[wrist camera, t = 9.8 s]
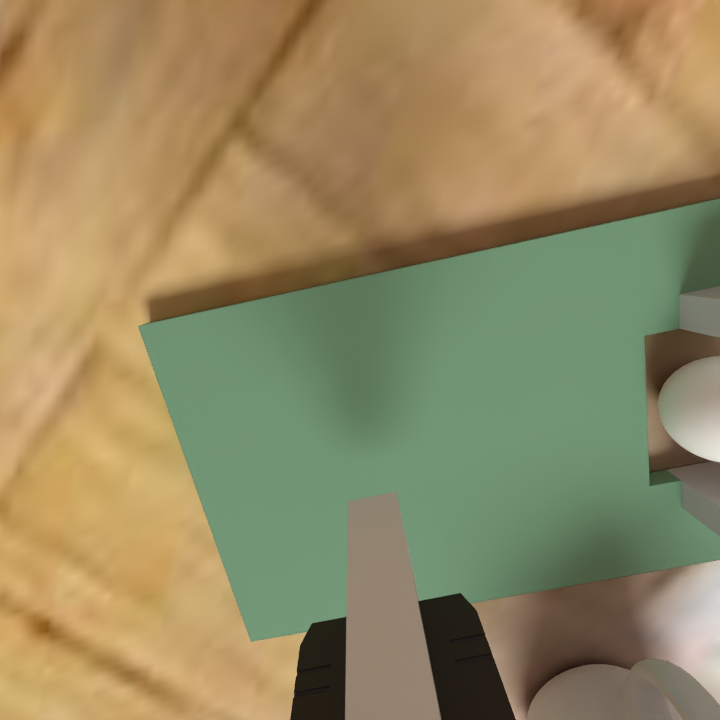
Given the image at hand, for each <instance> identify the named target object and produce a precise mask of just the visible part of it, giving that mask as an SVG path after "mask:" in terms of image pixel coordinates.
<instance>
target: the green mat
mask: <svg viewBox="0 0 720 720" xmlns="http://www.w3.org/2000/svg"><path fill="white" fill-rule="evenodd" d="M718 286H720V198H717V199H712V200H708V201H703V202H699V203H694V204H690V205H685V206H680V207H676V208H671V209H667V210H662V211H658V212H653V213H648V214H644V215H639V216H635V217H630V218H625V219H621V220H616V221H612V222H607V223H603V224H598V225H593V226H589V227H584V228H580V229H575V230H571V231H566V232H561V233H557V234H552V235H548V236H543V237H538V238H534V239H529V240H525V241H520V242H516V243H511V244H506V245H502V246H497V247H493V248H488V249H484V250H479V251H474V252H470V253H465V254H461V255H456V256H452V257H447V258H442V259H438V260H433V261H429V262H424V263H419V264H415V265H410V266H406V267H401V268H397V269H392V270H387V271H383V272H378V273H374V274H369V275H365V276H360V277H355V278H351V279H346V280H342V281H337V282H333V283H328V284H323V285H319V286H314V287H310V288H305V289H300V290H296V291H291V292H287V293H282V294H278V295H273V296H268V297H264V298H259V299H255V300H250V301H246V302H241V303H236V304H232V305H227V306H223V307H218V308H214V309H209V310H204V311H200V312H195V313H191V314H186V315H181V316H177V317H172V318H168V319H163V320H159V321H154V322H150V323H146V324H143V325H140V326H138V327H139V330H140V333H141V336H142V338H143V341H144V344H145V347H146V350H147V352H148V355H149V358H150V361H151V364H152V366H153V369H154V372H155V375H156V378H157V380H158V383H159V386H160V389H161V392H162V394H163V397H164V400H165V403H166V405H167V408H168V411H169V414H170V417H171V419H172V422H173V425H174V428H175V431H176V433H177V436H178V439H179V442H180V445H181V447H182V450H183V453H184V456H185V459H186V461H187V464H188V467H189V470H190V473H191V475H192V478H193V481H194V484H195V487H196V489H197V492H198V495H199V498H200V501H201V503H202V506H203V509H204V512H205V515H206V517H207V520H208V523H209V526H210V529H211V531H212V534H213V537H214V540H215V543H216V545H217V548H218V551H219V554H220V557H221V559H222V562H223V565H224V568H225V571H226V573H227V576H228V579H229V582H230V584H231V587H232V590H233V593H234V596H235V598H236V601H237V604H238V607H239V610H240V612H241V615H242V618H243V621H244V624H245V626H246V629H247V632H248V635H249V638H250V640H251V642H252V641H257V640H263V639H269V638H275V637H280V636H286V635H292V634H298V633H303V632H308V630H309V628H310V626H311V624H312V623H316V622H321V621H327V620H332V619H337V618H342V617H346V614H347V539H348V501H352V500H357V499H362V498H366V497H371V496H376V495H381V494H386V493H391V492H396V493H397V497H398V502H399V507H400V511H401V516H402V520H403V525H404V530H405V534H406V539H407V543H408V548H409V553H410V557H411V562H412V566H413V571H414V576H415V581H416V586H417V591H418V596H419V601H422V600H427V599H432V598H437V597H442V596H447V595H452V594H458V593H461V594H462V595H463V596H464V597H465V598H466V599H467V600H468V602H469V603H475V602H481V601H487V600H492V599H498V598H504V597H510V596H515V595H521V594H527V593H533V592H538V591H544V590H550V589H555V588H561V587H567V586H573V585H578V584H584V583H590V582H596V581H601V580H607V579H613V578H618V577H624V576H630V575H636V574H641V573H647V572H653V571H659V570H664V569H670V568H676V567H682V566H687V565H693V564H699V563H704V562H710V561H716V560H720V537H719V536H718V535H717V534H715V533H714V532H713V531H712V530H710V529H709V528H708V527H706V526H705V525H704V524H703V523H701V522H700V521H699V520H697V519H696V518H695V517H694V516H692V515H691V514H690V513H688V512H687V511H686V510H685V509H683V508H682V482H681V480H680V479H679V478H677V477H676V476H674V475H673V474H671V473H670V472H669V471H667V470H662V471H656V472H651V473H649V455H648V427H647V398H646V370H645V342H644V336H647V335H652V334H657V333H661V332H666V331H671V330H676V329H680V327H679V294H684V293H689V292H694V291H698V290H703V289H708V288H713V287H718Z"/></svg>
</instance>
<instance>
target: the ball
mask: <svg viewBox="0 0 720 720" xmlns="http://www.w3.org/2000/svg"><path fill="white" fill-rule="evenodd" d="M658 413H659V417H660V420H661V422H662V424H663V427H664V428H665V430H666V431H667V433H668V434H669V435H670V437H671V438H672V439H673V440H674V441H675V442H677V443H678V444H679V445H680V446H681V447H683V448H684V449H686V450H687V451H689V452H691V453H693V454H695V455H697V456H699V457H702V458H705V459H707V460H711V461H715V462H720V356H711V357H706V358H702V359H699V360H695V361H692V362H690V363H688V364H686V365H684V366H682V367H681V368H679V369H678V370H676V371H675V372H674V373H673V374H672V375H671V376H670V377H669V378H668V379H667V380H666V382H665V383H664V385H663V386H662V389H661V391H660V394H659V398H658Z"/></svg>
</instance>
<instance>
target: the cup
mask: <svg viewBox="0 0 720 720" xmlns="http://www.w3.org/2000/svg"><path fill="white" fill-rule="evenodd" d="M527 720H720V705H719V704H718V703H717V701H716V700H715V699H714V698H713V697H712V696H711V695H710V694H709V693H708V692H707V690H706V689H705V688H704V687H703V686H702V685H701V684H700V683H699V682H698V681H697V680H695V679H694V678H693V677H692V676H691V675H690V674H689V673H687V672H686V671H684V670H683V669H682V668H680V667H678V666H676V665H674V664H672V663H670V662H668V661H664V660H657V659H644V660H641V661H638V662H637V663H636V664H634V665H633V666H632V668H631V670H628V669H625V668H622V667H619V666H614V665H607V664H591V665H584V666H578V667H575V668H572V669H569V670H567V671H565V672H563V673H561V674H559V675H557V676H555V677H554V678H552V679H551V680H549V681H548V682H547V683H546V684H545V685H544V686H543V687H542V688H541V689H540V690H539V691H538V693H537V694H536V696H535V697H534V699H533V700H532V702H531V705H530V707H529V711H528V715H527Z"/></svg>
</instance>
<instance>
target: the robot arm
mask: <svg viewBox="0 0 720 720" xmlns="http://www.w3.org/2000/svg"><path fill="white" fill-rule="evenodd" d="M290 720H516V719H515V717H514V714H513V711H512V708H511V705H510V703H509V700H508V697H507V694H506V691H505V689H504V686H503V683H502V680H501V677H500V675H499V672H498V669H497V666H496V664H495V661H494V658H493V656H492V652H491V650H490V647H489V644H488V641H487V638H486V637H485V633H484V630H483V627H482V624H481V622H480V619H479V616H478V613H477V611H476V609H475V608H474V607H473V606H472V605H471V604H470V603H469V602H468V600H467V599H466V598H465V597H464V596H463V595H462V594H461V593H458V594H452V595H447V596H442V597H437V598H432V599H427V600H422V601H419V596H418V591H417V586H416V581H415V576H414V571H413V566H412V562H411V557H410V553H409V548H408V543H407V539H406V534H405V530H404V525H403V520H402V516H401V511H400V507H399V502H398V497H397V493H396V492H391V493H386V494H381V495H376V496H371V497H366V498H362V499H357V500H352V501H348V539H347V614H346V617H342V618H337V619H332V620H327V621H321V622H316V623H312V624H311V626H310V628H309V630H308V632H307V634H306V636H305V637H304V639H303V641H302V643H301V645H300V651H299V659H298V666H297V676H296V681H295V689H294V698H293V704H292V712H291V719H290Z"/></svg>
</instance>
